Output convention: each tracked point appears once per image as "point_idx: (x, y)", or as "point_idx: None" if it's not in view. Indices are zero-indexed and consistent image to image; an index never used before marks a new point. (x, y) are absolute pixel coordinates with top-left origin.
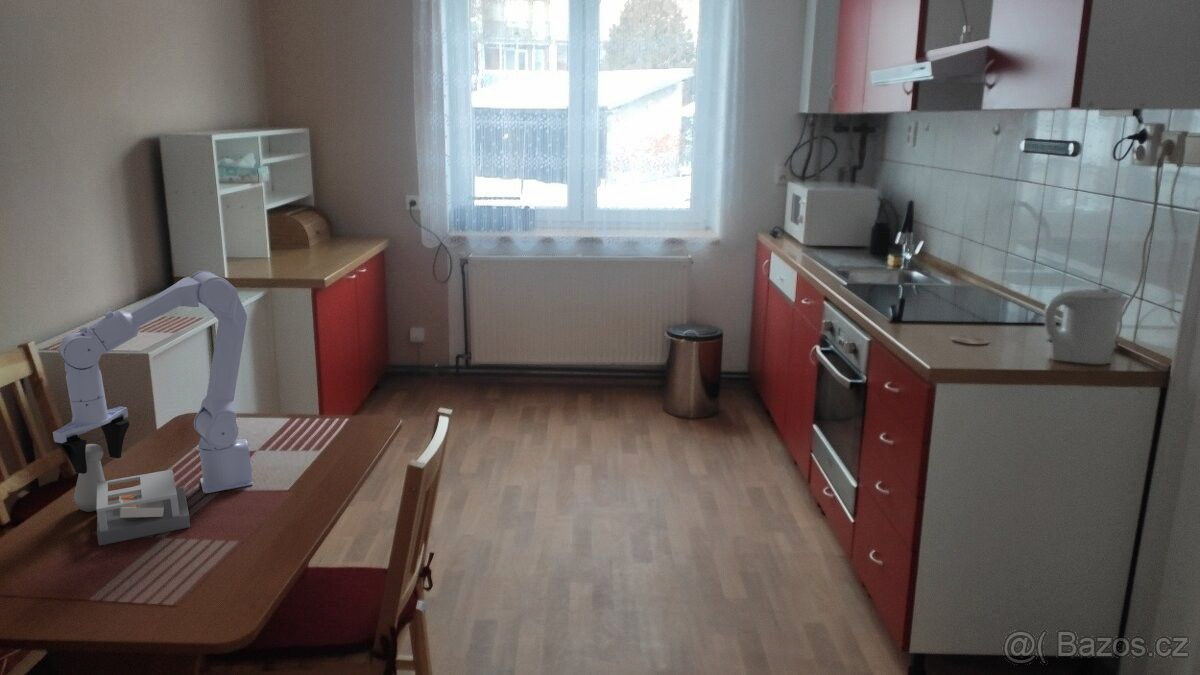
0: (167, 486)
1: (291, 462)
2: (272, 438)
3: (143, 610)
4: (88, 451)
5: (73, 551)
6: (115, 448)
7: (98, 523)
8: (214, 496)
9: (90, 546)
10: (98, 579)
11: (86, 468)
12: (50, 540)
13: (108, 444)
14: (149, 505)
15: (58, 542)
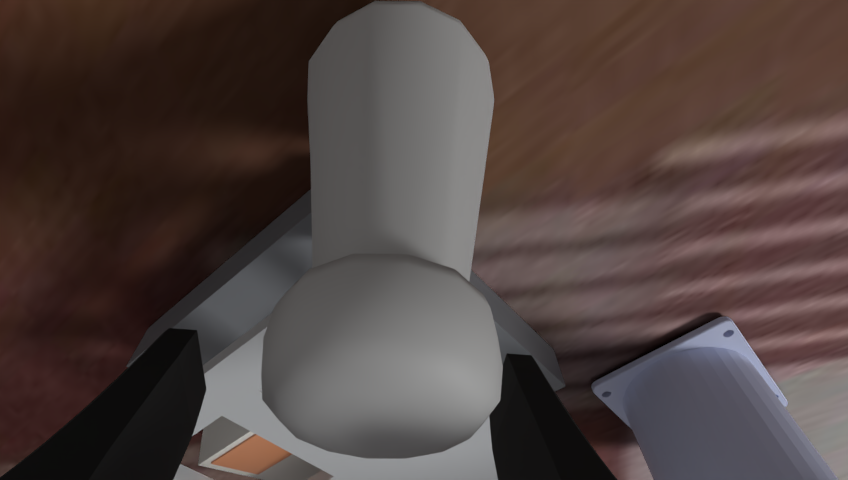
0: None
1: (841, 454)
2: None
3: None
4: (312, 439)
5: (68, 283)
6: (507, 473)
7: (187, 321)
8: (576, 408)
9: (129, 307)
10: (20, 437)
11: (190, 427)
12: (62, 132)
13: (537, 450)
14: (300, 475)
15: (74, 180)
